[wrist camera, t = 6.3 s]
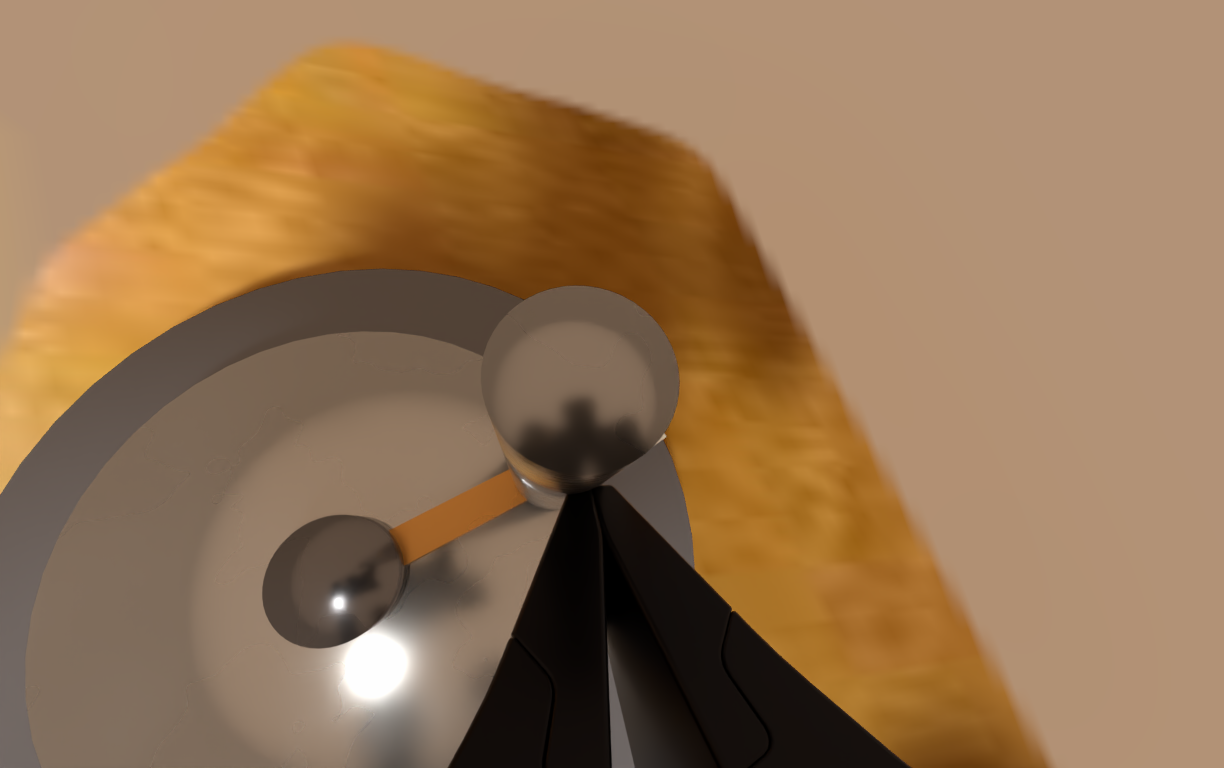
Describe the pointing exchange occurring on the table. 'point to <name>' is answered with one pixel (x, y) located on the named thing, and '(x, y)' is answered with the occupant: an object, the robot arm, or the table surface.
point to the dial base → (201, 346)
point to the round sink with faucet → (332, 542)
